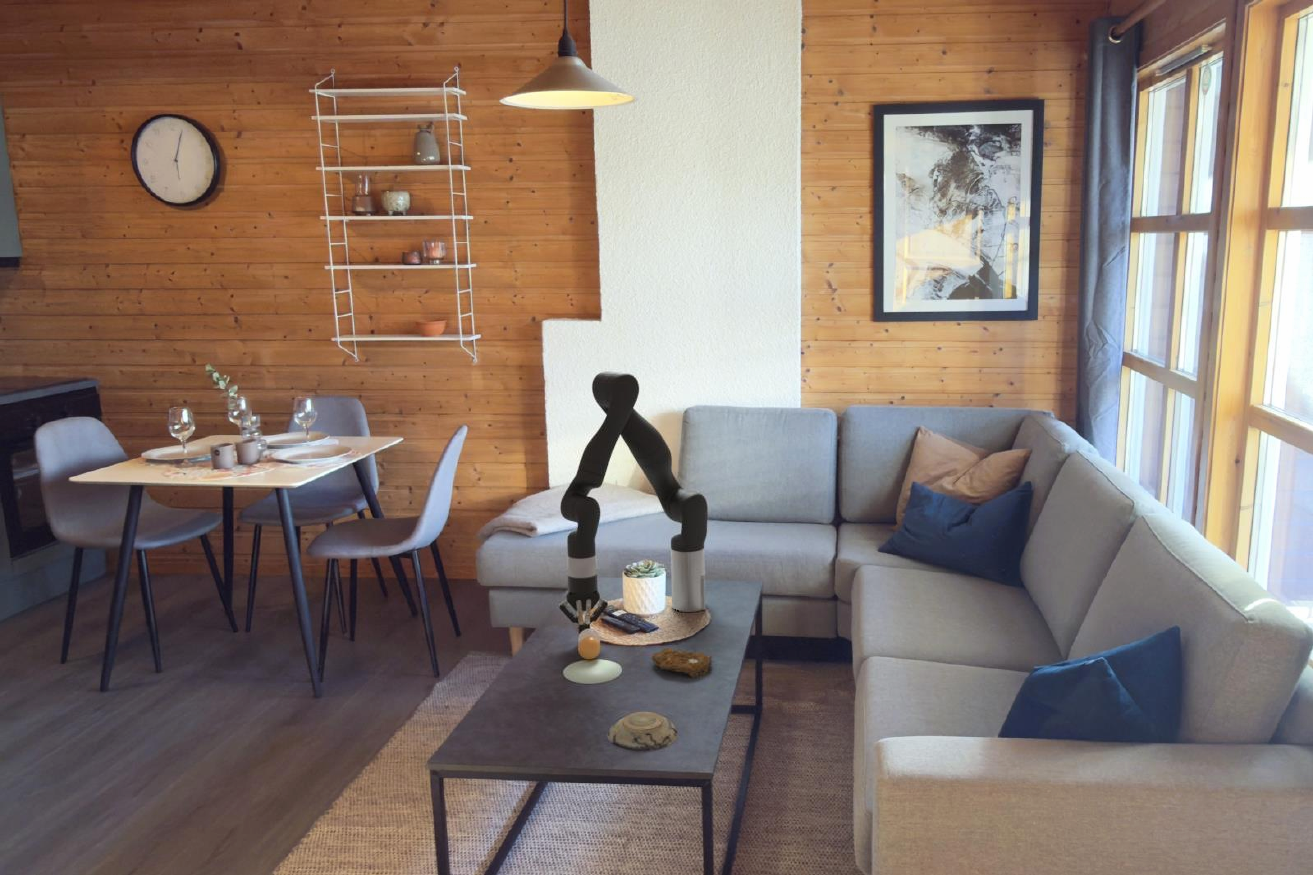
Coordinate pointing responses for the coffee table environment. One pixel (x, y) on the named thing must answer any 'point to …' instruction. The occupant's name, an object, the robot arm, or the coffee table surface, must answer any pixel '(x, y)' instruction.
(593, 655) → the object ball
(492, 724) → the coffee table surface
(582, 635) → the cue ball
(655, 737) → the decorative bowl
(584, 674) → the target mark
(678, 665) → the decorative rock
